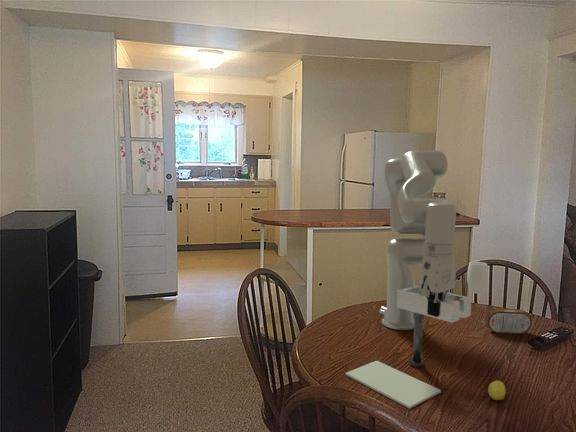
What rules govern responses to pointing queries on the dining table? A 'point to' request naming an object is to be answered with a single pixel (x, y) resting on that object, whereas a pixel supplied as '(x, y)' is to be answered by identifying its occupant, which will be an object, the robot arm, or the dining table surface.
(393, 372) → the mat
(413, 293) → the c link
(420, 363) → the stand
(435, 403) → the dining table surface
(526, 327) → the tin
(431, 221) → the robot arm
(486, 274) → the cup
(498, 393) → the lemon
